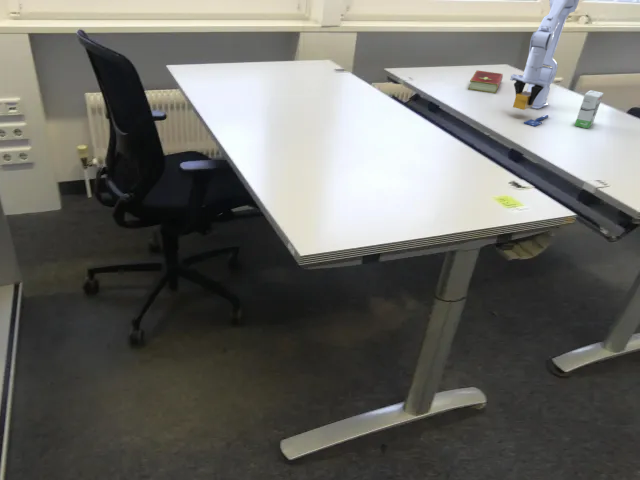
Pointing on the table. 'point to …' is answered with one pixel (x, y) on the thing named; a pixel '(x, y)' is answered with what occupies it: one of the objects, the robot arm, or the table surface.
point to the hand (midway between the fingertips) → (523, 103)
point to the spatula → (535, 121)
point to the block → (522, 100)
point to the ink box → (589, 109)
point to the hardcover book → (485, 81)
